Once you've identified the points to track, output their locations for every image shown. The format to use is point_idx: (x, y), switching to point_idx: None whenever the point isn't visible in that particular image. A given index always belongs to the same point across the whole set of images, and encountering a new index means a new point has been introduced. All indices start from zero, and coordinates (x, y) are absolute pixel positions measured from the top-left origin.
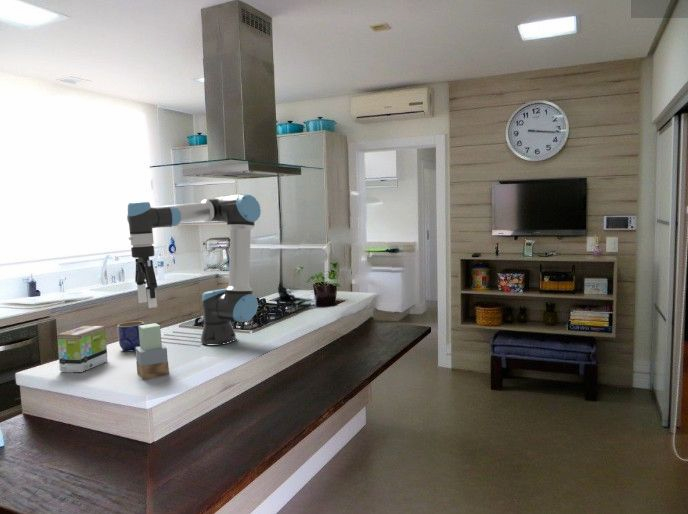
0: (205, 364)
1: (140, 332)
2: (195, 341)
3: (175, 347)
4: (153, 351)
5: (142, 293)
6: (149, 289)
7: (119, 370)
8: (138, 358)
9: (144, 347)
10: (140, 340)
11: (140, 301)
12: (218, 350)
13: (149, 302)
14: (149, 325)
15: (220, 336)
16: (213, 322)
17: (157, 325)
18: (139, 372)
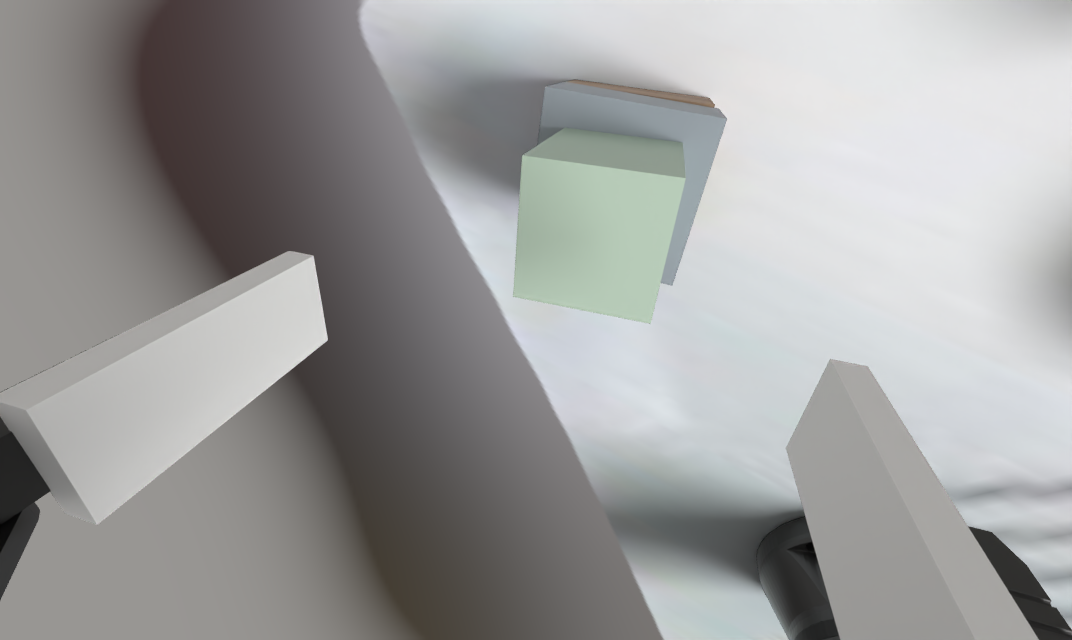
0: (568, 363)
1: (628, 158)
2: None
3: (985, 445)
4: None
5: (850, 530)
6: (15, 426)
7: (895, 35)
8: (638, 97)
9: (560, 131)
10: (656, 148)
11: (829, 389)
12: (706, 487)
13: (232, 288)
14: (601, 251)
15: (778, 569)
16: (830, 634)
17: (539, 288)
18: (646, 91)
